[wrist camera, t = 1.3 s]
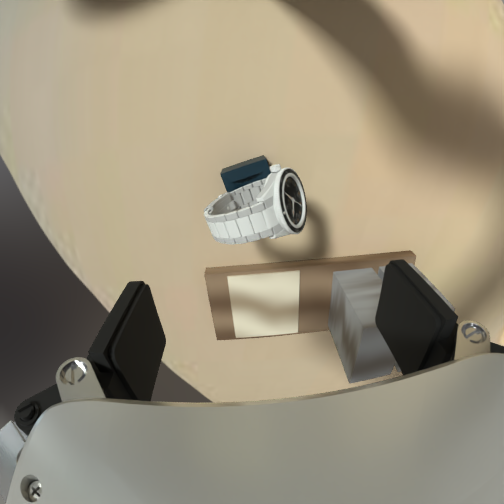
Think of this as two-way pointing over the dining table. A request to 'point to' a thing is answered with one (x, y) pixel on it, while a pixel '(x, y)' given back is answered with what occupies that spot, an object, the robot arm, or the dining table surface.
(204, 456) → the robot arm
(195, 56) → the dining table surface
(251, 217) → the watch
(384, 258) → the wood and grey tray
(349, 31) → the dining table surface
